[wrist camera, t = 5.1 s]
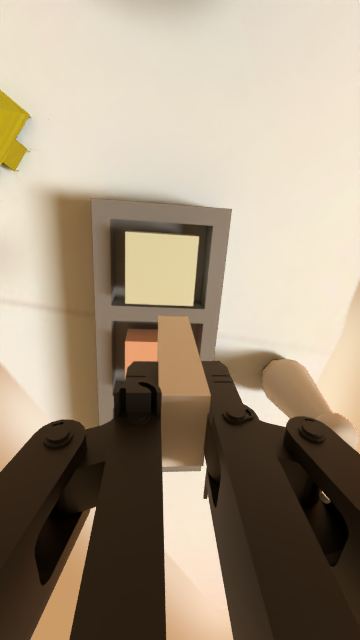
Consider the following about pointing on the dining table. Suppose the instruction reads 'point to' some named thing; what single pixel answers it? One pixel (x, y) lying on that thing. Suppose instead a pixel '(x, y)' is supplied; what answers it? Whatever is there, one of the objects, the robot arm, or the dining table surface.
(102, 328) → the key panel
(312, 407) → the salt shaker
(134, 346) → the terracotta key
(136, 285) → the cream square block
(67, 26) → the dining table surface
